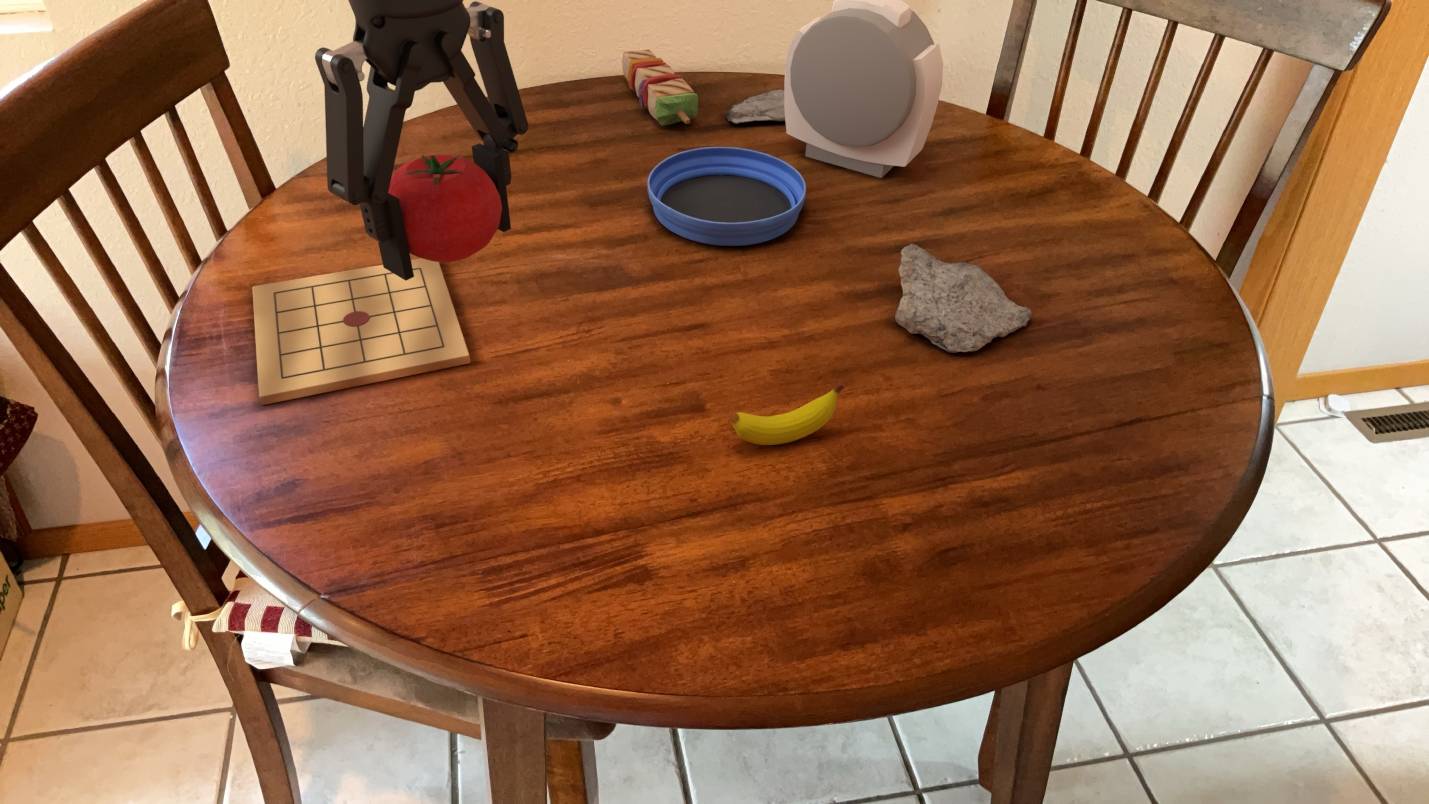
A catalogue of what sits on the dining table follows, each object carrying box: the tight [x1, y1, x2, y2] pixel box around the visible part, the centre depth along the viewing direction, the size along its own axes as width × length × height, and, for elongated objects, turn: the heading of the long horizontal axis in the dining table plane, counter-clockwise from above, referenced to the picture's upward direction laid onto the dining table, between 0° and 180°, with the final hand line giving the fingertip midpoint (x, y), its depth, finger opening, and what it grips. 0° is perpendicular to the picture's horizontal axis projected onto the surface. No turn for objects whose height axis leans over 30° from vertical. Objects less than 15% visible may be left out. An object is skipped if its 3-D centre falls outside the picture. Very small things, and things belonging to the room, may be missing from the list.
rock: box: [894, 243, 1032, 354], centre depth 98 cm, size 14×4×15 cm
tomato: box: [388, 154, 502, 263], centre depth 74 cm, size 9×9×8 cm
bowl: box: [646, 146, 807, 247], centre depth 112 cm, size 18×18×4 cm
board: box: [251, 257, 471, 406], centre depth 93 cm, size 18×18×1 cm
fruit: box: [729, 382, 845, 446], centre depth 82 cm, size 10×2×5 cm, turn 110°
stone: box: [725, 88, 786, 125], centre depth 135 cm, size 21×10×1 cm, turn 103°
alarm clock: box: [783, 0, 944, 179], centre depth 117 cm, size 18×8×20 cm, turn 59°
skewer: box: [621, 49, 699, 127], centre depth 132 cm, size 21×6×5 cm, turn 22°
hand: (449, 247), depth 76 cm, fingers closed on tomato, 9 cm apart
